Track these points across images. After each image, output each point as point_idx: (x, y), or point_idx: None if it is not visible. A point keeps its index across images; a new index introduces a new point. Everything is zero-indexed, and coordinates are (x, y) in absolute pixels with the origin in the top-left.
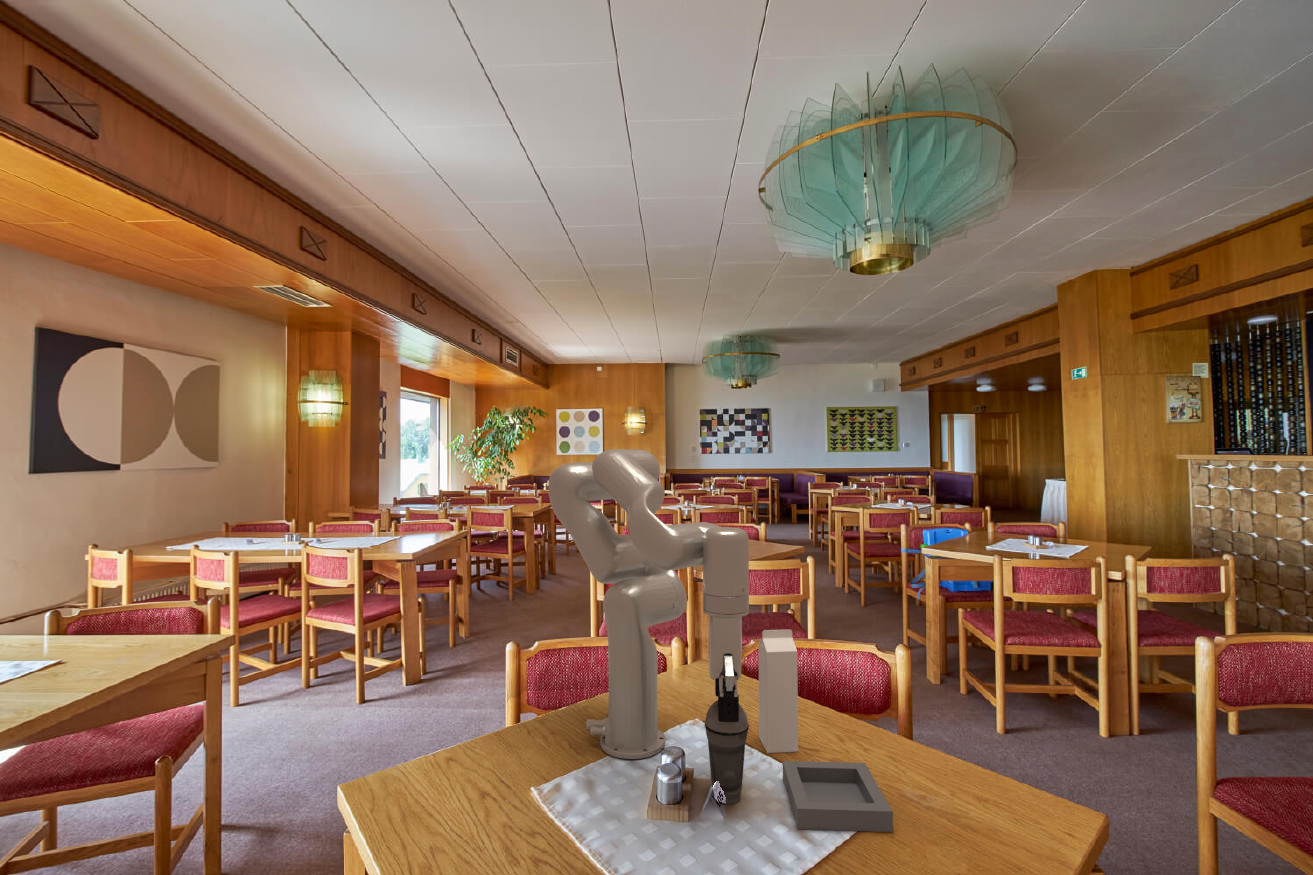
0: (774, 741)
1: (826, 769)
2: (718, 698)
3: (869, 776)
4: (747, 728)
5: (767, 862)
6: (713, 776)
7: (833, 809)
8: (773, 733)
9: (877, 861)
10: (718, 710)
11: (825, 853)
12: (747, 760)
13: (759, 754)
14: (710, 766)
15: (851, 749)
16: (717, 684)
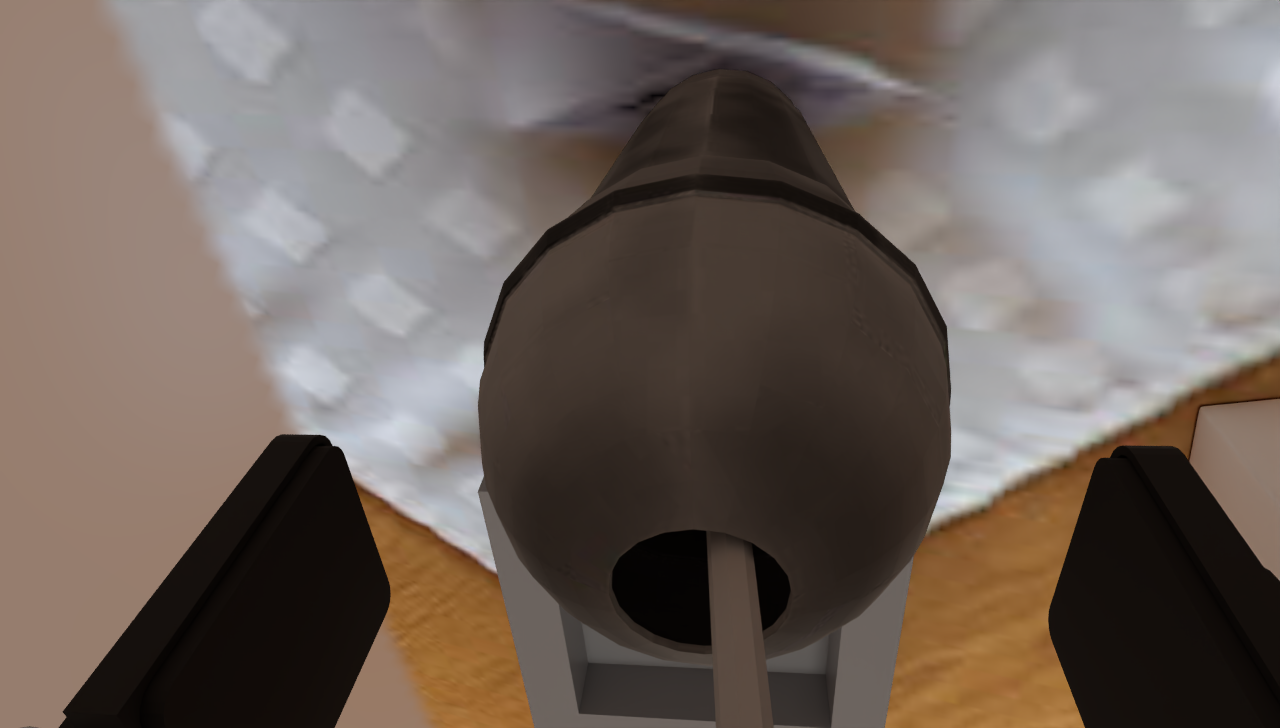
0: (1225, 483)
1: (839, 639)
2: (97, 672)
3: None
4: (639, 549)
5: (253, 301)
6: (657, 115)
7: (507, 600)
8: (1252, 514)
9: (390, 606)
10: (217, 521)
11: (380, 491)
12: (1137, 292)
13: (1197, 363)
14: (696, 107)
15: None
16: (1173, 606)
